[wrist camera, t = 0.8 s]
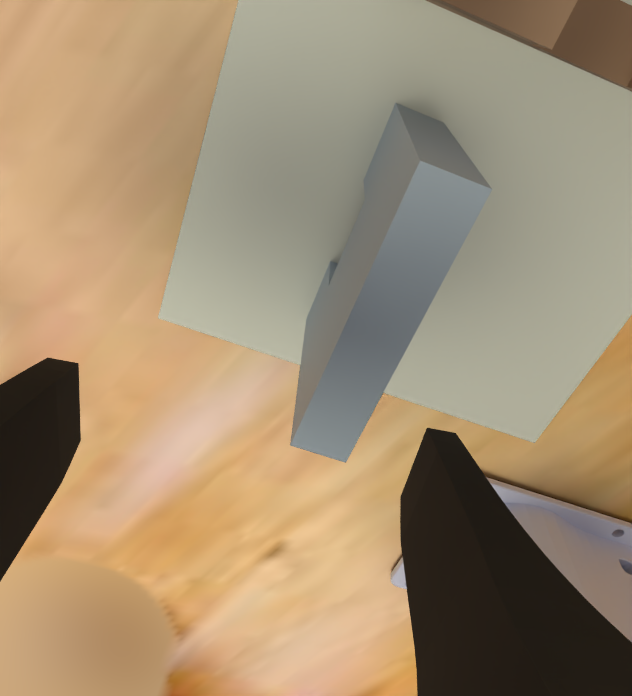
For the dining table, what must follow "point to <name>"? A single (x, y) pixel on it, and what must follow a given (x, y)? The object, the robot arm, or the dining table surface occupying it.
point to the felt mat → (348, 197)
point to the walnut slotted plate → (562, 30)
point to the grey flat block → (383, 278)
